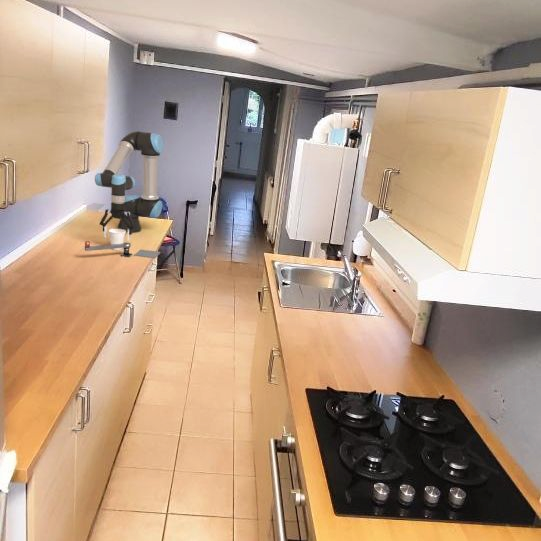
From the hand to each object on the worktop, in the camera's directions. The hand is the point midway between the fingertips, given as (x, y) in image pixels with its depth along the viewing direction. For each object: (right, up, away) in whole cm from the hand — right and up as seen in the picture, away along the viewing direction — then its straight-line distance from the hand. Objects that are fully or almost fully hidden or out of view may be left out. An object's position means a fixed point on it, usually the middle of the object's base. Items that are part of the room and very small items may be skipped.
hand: (117, 238), depth 317 cm
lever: (0, -6, -17) cm, 18 cm away
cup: (-1, -6, +2) cm, 7 cm away
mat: (+18, -9, -2) cm, 20 cm away
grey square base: (+8, -10, -9) cm, 15 cm away
